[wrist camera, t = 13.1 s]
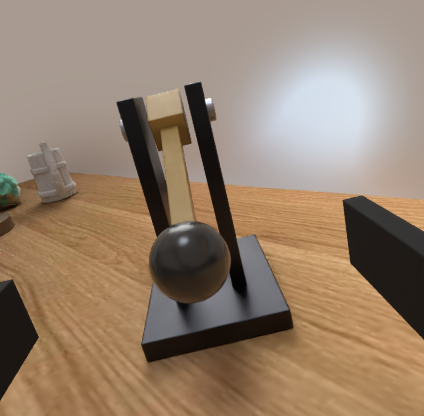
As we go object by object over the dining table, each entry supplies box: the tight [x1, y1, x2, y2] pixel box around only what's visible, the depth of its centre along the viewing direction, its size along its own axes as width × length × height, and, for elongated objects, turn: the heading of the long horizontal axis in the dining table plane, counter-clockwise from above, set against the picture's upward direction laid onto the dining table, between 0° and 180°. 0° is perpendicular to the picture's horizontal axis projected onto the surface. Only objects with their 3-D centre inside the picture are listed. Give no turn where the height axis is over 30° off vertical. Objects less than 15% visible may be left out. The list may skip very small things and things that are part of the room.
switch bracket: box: [117, 81, 293, 361], centre depth 25 cm, size 12×9×15 cm
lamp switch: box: [146, 89, 231, 304], centre depth 20 cm, size 14×4×4 cm
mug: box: [27, 142, 76, 203], centre depth 74 cm, size 8×12×12 cm, turn 31°
